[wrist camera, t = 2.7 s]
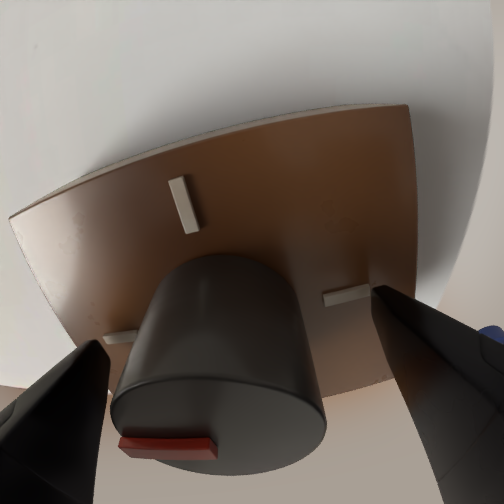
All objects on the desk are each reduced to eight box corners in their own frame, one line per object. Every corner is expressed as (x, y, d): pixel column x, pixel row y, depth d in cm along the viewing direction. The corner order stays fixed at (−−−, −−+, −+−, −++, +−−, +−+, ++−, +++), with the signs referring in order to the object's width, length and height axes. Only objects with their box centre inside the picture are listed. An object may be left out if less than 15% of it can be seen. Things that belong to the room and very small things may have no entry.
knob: (286, 236, 7) (323, 368, 4) (308, 356, 9) (333, 473, 6) (128, 272, 8) (61, 392, 4) (183, 376, 10) (165, 485, 6)
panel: (347, 104, 10) (412, 104, 6) (368, 305, 15) (405, 378, 10) (76, 179, 11) (4, 220, 7) (154, 347, 16) (132, 421, 11)
